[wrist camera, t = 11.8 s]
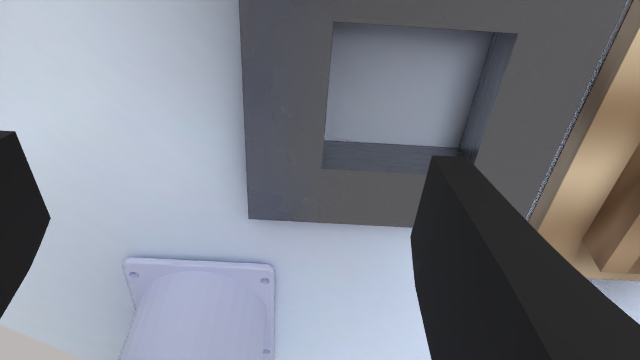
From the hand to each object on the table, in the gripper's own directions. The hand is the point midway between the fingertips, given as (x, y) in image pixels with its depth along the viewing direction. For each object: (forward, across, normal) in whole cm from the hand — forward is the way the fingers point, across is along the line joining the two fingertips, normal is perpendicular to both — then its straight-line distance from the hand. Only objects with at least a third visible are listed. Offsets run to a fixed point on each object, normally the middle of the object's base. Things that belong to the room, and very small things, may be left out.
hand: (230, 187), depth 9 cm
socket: (+10, -5, +3) cm, 12 cm away
